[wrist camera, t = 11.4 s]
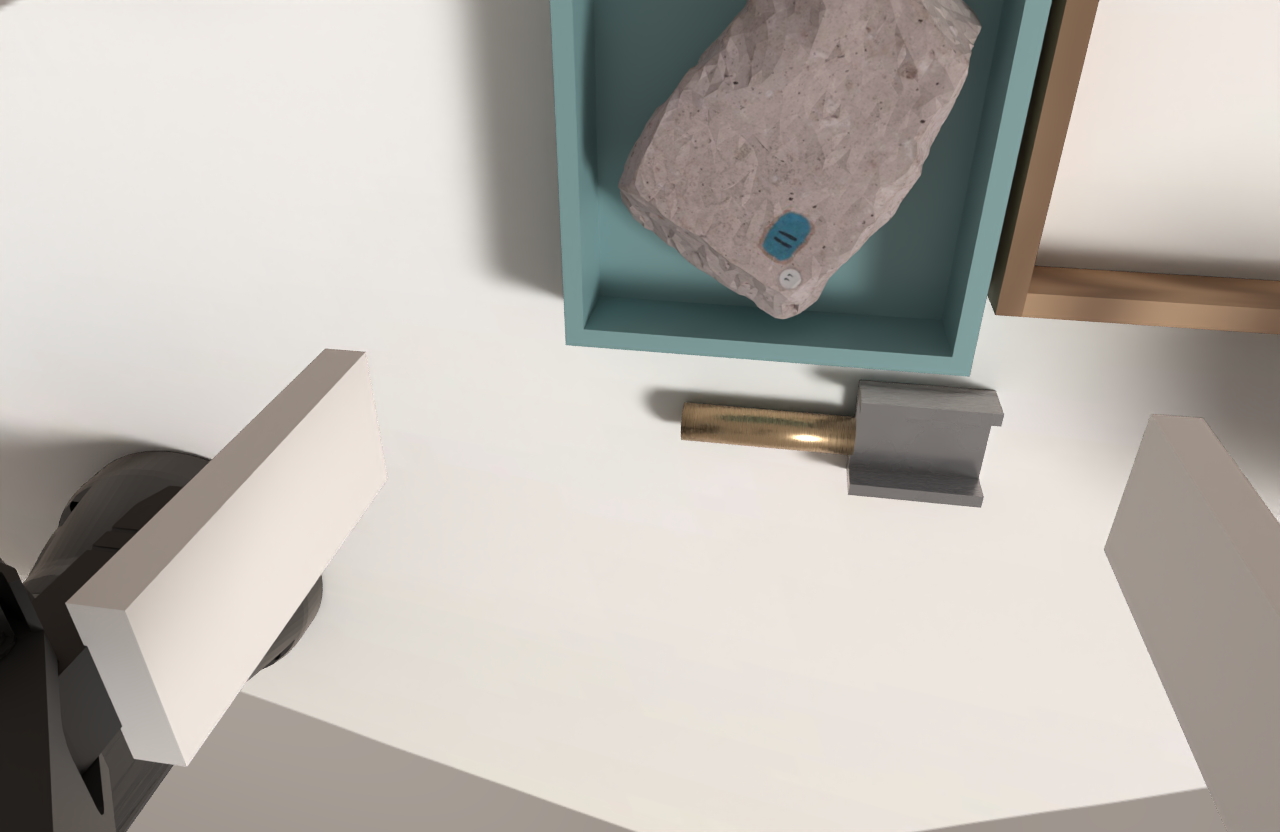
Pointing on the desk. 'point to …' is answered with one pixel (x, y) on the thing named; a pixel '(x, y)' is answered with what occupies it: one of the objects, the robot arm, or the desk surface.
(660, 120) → the stone
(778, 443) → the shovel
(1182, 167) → the desk surface
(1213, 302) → the frame
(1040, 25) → the bin
